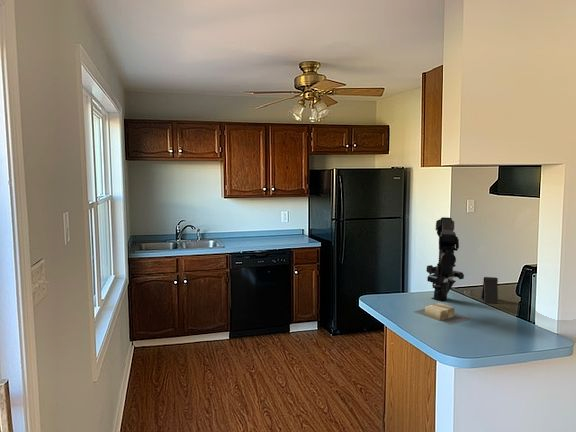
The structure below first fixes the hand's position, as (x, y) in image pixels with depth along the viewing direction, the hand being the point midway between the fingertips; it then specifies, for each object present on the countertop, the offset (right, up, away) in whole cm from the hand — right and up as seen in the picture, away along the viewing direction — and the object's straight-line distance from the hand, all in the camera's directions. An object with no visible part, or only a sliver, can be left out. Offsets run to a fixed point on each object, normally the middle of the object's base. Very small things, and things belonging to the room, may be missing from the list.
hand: (444, 295), depth 205 cm
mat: (-1, -9, +1) cm, 9 cm away
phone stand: (+31, -7, +25) cm, 40 cm away
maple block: (+2, -7, +2) cm, 7 cm away
